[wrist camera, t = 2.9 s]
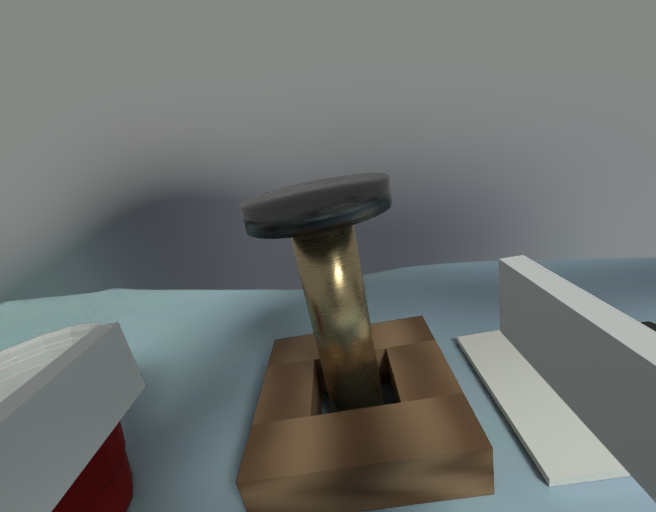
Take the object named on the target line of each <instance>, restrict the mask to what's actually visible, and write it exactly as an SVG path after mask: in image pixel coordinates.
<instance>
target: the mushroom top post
mask: <svg viewBox="0 0 656 512" xmlns="http://www.w3.org/2000/svg"><path fill="white" fill-rule="evenodd" d="M391 206H392V197H391V189H390V181H389V175H387V174H385V173H364V174H354V175H346V176H339V177H333V178H327V179H322V180H316V181H312V182H307V183H302V184H298V185H293V186H290V187H285V188H281V189H278V190H274V191H271V192H267V193H264V194H261V195H258V196H255V197H253V198H250V199H248V200H246V201H244V202H242V203H241V204H240V205H239V207H240V211H241V214H242V218H243V221H244V225H245V229H246V232H247V234H248V235H249V236H251V237H255V238H263V239H278V238H291V240H292V244H293V248H294V253H295V257H296V261H297V265H298V270H299V273H300V278H301V282H302V286H303V291H304V295H305V299H306V303H307V307H308V312H309V316H310V320H311V324H312V328H313V333H314V337H315V341H316V345H317V349H318V354H319V358H320V362H321V366H322V370H323V375H324V379H325V383H326V387H327V391H328V396H329V400H330V404H331V408H332V412H333V413H334V412H341V411H347V410H354V409H361V408H367V407H374V406H381V405H384V399H383V393H382V387H381V382H380V376H379V370H378V364H377V358H376V353H375V347H374V341H373V335H372V329H371V324H370V318H369V312H368V306H367V300H366V294H365V289H364V283H363V277H362V271H361V266H360V260H359V254H358V248H357V243H356V237H355V231H354V224H357V223H360V222H363V221H366V220H369V219H371V218H373V217H376V216H378V215H380V214H382V213H384V212H385V211H387V210H388V209H389V208H390V207H391Z"/></svg>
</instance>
